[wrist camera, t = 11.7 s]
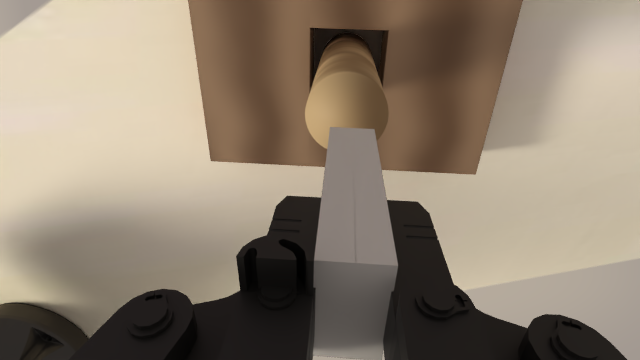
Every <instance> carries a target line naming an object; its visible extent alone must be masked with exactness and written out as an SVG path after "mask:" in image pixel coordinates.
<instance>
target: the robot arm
mask: <svg viewBox="0 0 640 360" xmlns="http://www.w3.org/2000/svg"><path fill="white" fill-rule="evenodd" d="M236 258H237V266H238V274H239V282H240V291H239V292H237V293H235V294H233V295H231V296H229V297H225V298H222V299H219V300H214V301H209V302H204V303H199V304H194V305H192V303H191V302H190V300H189V298H188V297H187V296H186V295H184V294H183V293H181V292H179V291H177V290H168V289H160V290H155V291H150V292H146V293H144V294H142V295H140V296H137V297H135V298H133V299H131V300H130V301H129V302H128V303H126V304H125V305H124V306H122V307H121V308H120V309H119V310H118V311H117V312H116V313H115V314H114V315H113V316H112V317H111V318H110V319H109V320H108V321H107V322H106V323H105V324H104V325H103V326H102V327H101V328H100V329H99V330H98V331H97V332H96V333H95V334H94V335H93V336H92V337H91V338H90V339H89V340H88V338H87V337H86V336H85V335H84V334H83V333H82V331H80V330H79V329H78V328H77V327H76V326H75V325H73V324H72V323H71V322H69V321H68V320H66V319H64V318H63V317H61V316H59V315H57V314H55V313H53V312H50V311H48V310H45V309H42V308H39V307H35V306H31V305H25V304H3V305H0V360H312V359H313V356H325V357H337V358H350V359H363V360H382V355H383V350H384V357H385V360H627V359H626V358H625V357H624V356H623V355H622V354H621V353H620V352H619V351H618V350H617V349H616V348H615V347H614V346H613V345H612V344H611V343H610V342H609V341H608V340H607V339H606V338H604V337H603V336H602V335H601V334H599V333H598V332H597V331H596V330H594V329H593V328H591V327H589V326H587V325H585V324H583V323H582V322H580V321H578V320H575V319H572V318H568V317H565V316H562V315H548V314H545V315H542V316H539V317H537V318H535V319H533V321H532V322H531V324H530V325H529V327H528V328H525V327H522V326H518V325H516V324H513V323H510V322H506V321H503V320H500V319H497V318H494V317H492V316H490V315H487V314H484V313H483V312H481V311H479V310H478V309H476V308H475V306H474V304H473V303H472V301H471V299H470V298H469V296H468V295H467V294H466V293H464V292H463V291H462V290H461V289H460V288H459V287H457V286H456V285H454V284H453V281H452V278H451V275H450V273H449V270H448V267H447V264H446V261H445V258H444V255H443V252H442V249H441V246H440V243H439V240H437V235H436V232H435V229H434V226H433V223H432V220H431V217H430V214H429V213H428V212H427V211H426V210H425V209H424V208H423V207H422V206H421V205H420V204H419V203H418V202H411V201H394V200H387V198H386V193H385V187H384V181H383V175H382V170H381V164H380V158H379V152H378V147H377V141H376V135H375V129H362V128H341V127H330V131H329V139H328V148H327V156H326V164H325V173H324V181H323V189H322V198H317V197H299V196H286V197H285V198H284V199H283V200H282V201H281V202H280V203H279V204H278V205H277V206H276V209H275V212H274V215H273V220H272V222H271V225H270V228H269V231H268V234H267V235H266V236H263V237H260V238H257V239H254V240H252V241H251V242H249V243H248V244H246V245H245V246H243V247H242V249H241V250H240V252H239V253H238V255H237V256H236Z"/></svg>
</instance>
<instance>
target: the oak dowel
mask: <svg viewBox="0 0 640 360" xmlns="http://www.w3.org/2000/svg"><path fill="white" fill-rule="evenodd" d="M388 116H389V110H388V104H387V100H386V97H385V94H384V91H383V88H382V85H381V82H380V79H379V76H378V73H377V70H376V66H375V63H374V60H373V57H372V54H371V51H370V48H369V46H368V44H367V43H366V41H365V40H364V39H363V38H362V37H360V36H359V35H357V34H354V33H349V32H346V33H340V34H338V35H336V36H334V37H332V38H331V39H330V40H329V41H328V42H327V44H326V46H325V48H324V50H323V53H322V56H321V59H320V63H319V66H318V69H317V72H316V75H315V78H314V81H313V85H312V88H311V91H310V94H309V97H308V100H307V103H306V108H305V120H306V125H307V128H308V130H309V132H310V134H311V135H312V137H313V138H314V139H315V141H316V142H317V143H319V144H320V145H321V146H323V147H324V148H326V149H327V148H328V139H329V131H330V127H341V128H362V129H375V135H376V141H377V140H378V139H379V138H380V137H381V135H382V134H383V132H384V130H385V128H386V126H387V122H388Z"/></svg>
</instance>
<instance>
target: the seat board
mask: <svg viewBox="0 0 640 360" xmlns="http://www.w3.org/2000/svg"><path fill="white" fill-rule="evenodd" d="M522 1H523V0H188V3H189V10H190V17H191V24H192V31H193V38H194V45H195V52H196V59H197V66H198V73H199V81H200V88H201V95H202V102H203V109H204V116H205V123H206V130H207V137H208V144H209V151H210V158H211V161H219V162H239V163H259V164H279V165H298V166H318V167H325V164H326V156H327V149H326V148H324V147H323V146H321V145H320V144H319V143H317V142H316V141H315V139H314V138H313V137H312V135H311V134H310V132H309V130H308V128H307V125H306V120H305V108H306V103H307V100H308V97H309V94H310V91H311V88H312V85H313V81H314V28H333V29H363V30H383V35H382V45H381V55H380V65H379V75H378V76H379V79H380V82H381V85H382V88H383V91H384V94H385V97H386V100H387V104H388V110H389V116H388V122H387V126H386V128H385V130H384V132H383V134H382V135H381V137H380V138H379V139H378V140H377V147H378V152H379V158H380V164H381V170H397V171H417V172H436V173H456V174H476V171H477V168H478V164H479V160H480V156H481V153H482V149H483V145H484V142H485V138H486V134H487V131H488V127H489V123H490V119H491V116H492V112H493V108H494V105H495V101H496V97H497V94H498V90H499V86H500V83H501V79H502V75H503V71H504V68H505V64H506V60H507V57H508V53H509V49H510V46H511V42H512V38H513V34H514V31H515V27H516V23H517V20H518V16H519V12H520V9H521V5H522Z"/></svg>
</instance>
